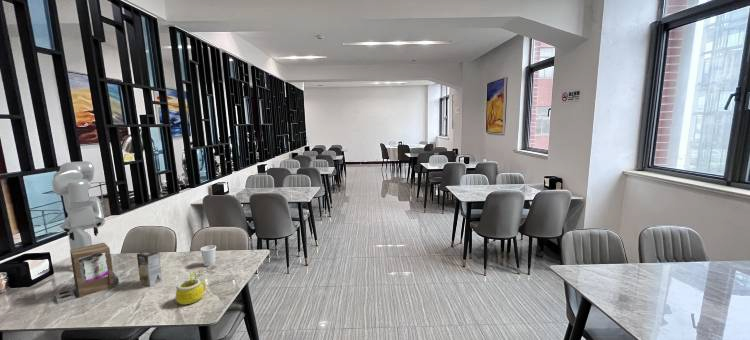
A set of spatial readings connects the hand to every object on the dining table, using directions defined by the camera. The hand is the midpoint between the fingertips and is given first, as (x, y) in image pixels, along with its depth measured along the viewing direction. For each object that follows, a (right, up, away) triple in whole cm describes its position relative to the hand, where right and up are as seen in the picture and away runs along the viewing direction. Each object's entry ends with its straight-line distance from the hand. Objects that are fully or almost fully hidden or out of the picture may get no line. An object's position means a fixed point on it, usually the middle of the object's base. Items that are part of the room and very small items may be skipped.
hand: (84, 237), depth 168 cm
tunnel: (+10, -24, -6) cm, 27 cm away
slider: (+7, -23, -2) cm, 25 cm away
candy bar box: (+11, -24, -6) cm, 27 cm away
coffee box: (+36, -23, -1) cm, 43 cm away
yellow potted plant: (+67, -24, -20) cm, 74 cm away
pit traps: (+3, -26, -14) cm, 29 cm away
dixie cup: (+55, -20, +20) cm, 62 cm away
